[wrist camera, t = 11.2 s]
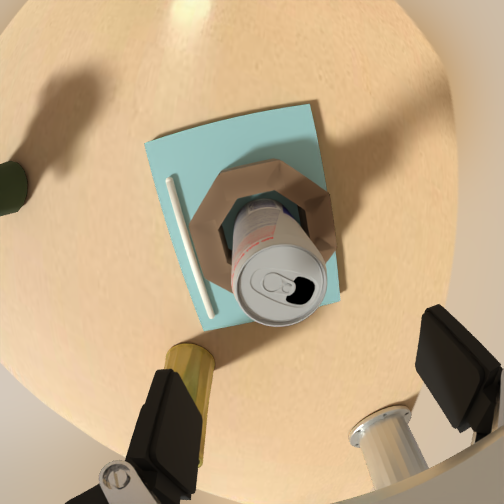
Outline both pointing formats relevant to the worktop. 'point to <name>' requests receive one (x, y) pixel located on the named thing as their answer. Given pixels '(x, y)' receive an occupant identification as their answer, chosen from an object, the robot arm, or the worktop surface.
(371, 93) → the worktop surface
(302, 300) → the energy drink
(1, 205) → the character mug
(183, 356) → the vase
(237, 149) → the teal rectangular slab
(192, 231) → the brown octagonal ring
